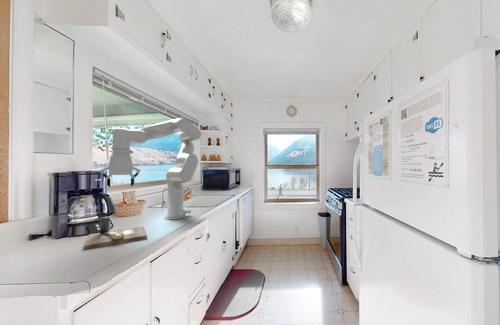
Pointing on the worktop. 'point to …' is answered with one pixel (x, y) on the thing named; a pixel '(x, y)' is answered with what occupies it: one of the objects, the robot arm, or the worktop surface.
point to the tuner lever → (105, 229)
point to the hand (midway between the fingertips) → (120, 186)
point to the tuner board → (105, 240)
